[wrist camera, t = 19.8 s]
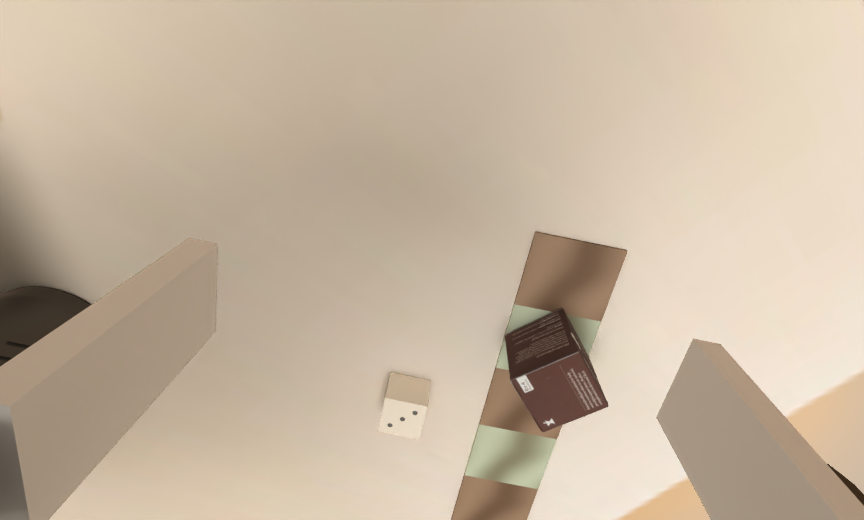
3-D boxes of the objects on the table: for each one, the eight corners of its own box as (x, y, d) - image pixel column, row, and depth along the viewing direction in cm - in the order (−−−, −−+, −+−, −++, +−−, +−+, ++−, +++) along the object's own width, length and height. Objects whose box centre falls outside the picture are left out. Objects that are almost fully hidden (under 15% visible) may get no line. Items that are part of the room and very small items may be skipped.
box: (589, 356, 47) (611, 408, 40) (530, 381, 48) (541, 435, 41) (562, 305, 45) (580, 350, 38) (502, 333, 46) (508, 381, 39)
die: (384, 403, 51) (377, 432, 47) (390, 371, 49) (384, 398, 45) (422, 411, 51) (419, 440, 47) (430, 380, 49) (427, 407, 45)
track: (451, 518, 56) (451, 521, 56) (535, 231, 42) (535, 232, 42) (520, 531, 56) (520, 534, 56) (626, 250, 43) (627, 251, 42)
